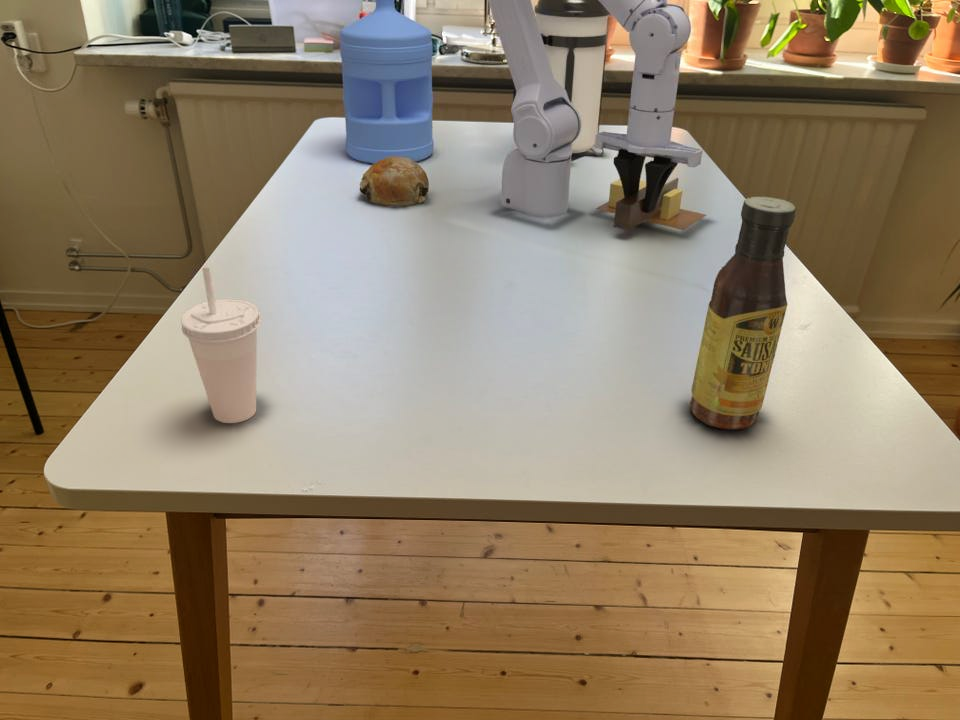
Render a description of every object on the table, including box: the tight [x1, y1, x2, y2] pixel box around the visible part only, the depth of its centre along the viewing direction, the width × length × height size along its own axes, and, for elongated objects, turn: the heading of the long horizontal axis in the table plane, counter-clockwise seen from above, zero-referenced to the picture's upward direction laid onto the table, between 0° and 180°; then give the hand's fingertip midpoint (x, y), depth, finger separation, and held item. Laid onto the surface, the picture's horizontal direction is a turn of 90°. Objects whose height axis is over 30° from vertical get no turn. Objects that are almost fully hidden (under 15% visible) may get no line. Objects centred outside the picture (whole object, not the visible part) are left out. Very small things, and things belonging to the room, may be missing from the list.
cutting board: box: [595, 201, 707, 231], centre depth 120 cm, size 14×8×1 cm, turn 54°
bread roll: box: [359, 156, 430, 207], centre depth 125 cm, size 10×10×8 cm
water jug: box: [339, 0, 435, 165], centre depth 140 cm, size 16×16×28 cm
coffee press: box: [512, 0, 611, 157], centre depth 141 cm, size 17×16×30 cm
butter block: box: [608, 178, 662, 212], centre depth 120 cm, size 7×4×4 cm, turn 54°
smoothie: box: [180, 265, 262, 424], centre depth 70 cm, size 6×6×14 cm
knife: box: [613, 177, 679, 231], centre depth 114 cm, size 2×17×4 cm, turn 144°
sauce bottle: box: [689, 196, 797, 431], centre depth 69 cm, size 6×6×20 cm
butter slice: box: [660, 188, 683, 220], centre depth 117 cm, size 1×4×4 cm, turn 144°
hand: (639, 208), depth 112 cm, fingers closed on knife, 2 cm apart
